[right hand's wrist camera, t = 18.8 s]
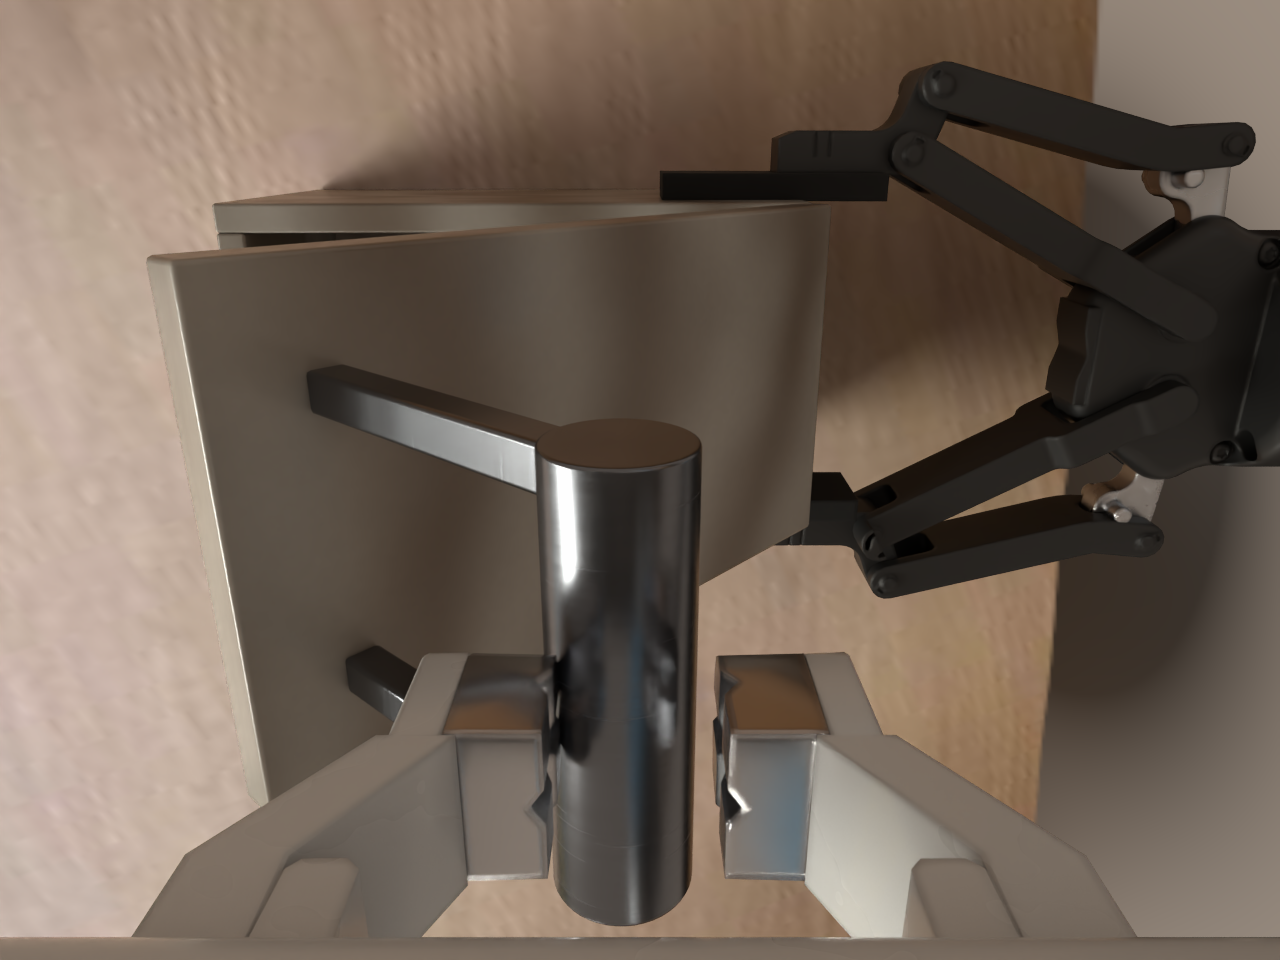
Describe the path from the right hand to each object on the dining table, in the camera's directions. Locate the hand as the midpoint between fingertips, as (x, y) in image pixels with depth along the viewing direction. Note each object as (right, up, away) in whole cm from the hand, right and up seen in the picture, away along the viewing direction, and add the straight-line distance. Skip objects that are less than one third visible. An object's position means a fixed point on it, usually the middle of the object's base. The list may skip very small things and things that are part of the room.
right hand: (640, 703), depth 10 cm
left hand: (+1, +7, +18) cm, 19 cm away
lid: (-1, +4, +10) cm, 10 cm away
